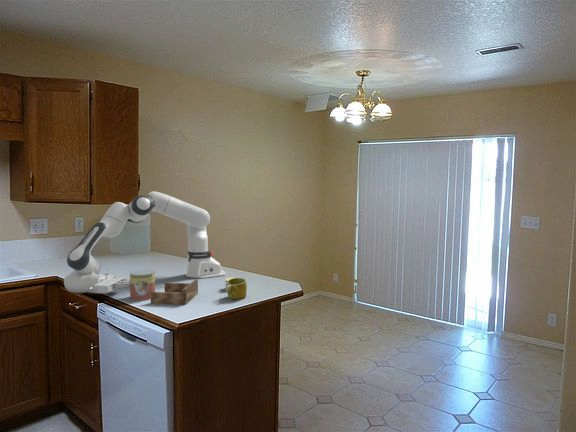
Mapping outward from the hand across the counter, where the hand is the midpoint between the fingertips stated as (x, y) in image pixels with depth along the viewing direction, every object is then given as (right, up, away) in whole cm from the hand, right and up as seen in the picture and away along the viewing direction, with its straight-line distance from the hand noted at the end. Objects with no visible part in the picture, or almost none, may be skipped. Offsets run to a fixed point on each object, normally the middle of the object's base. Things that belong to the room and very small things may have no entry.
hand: (127, 284), depth 203 cm
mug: (+51, -6, 0) cm, 51 cm away
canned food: (+8, -6, 0) cm, 10 cm away
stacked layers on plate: (+47, -5, +16) cm, 50 cm away
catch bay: (+22, -6, -1) cm, 23 cm away
